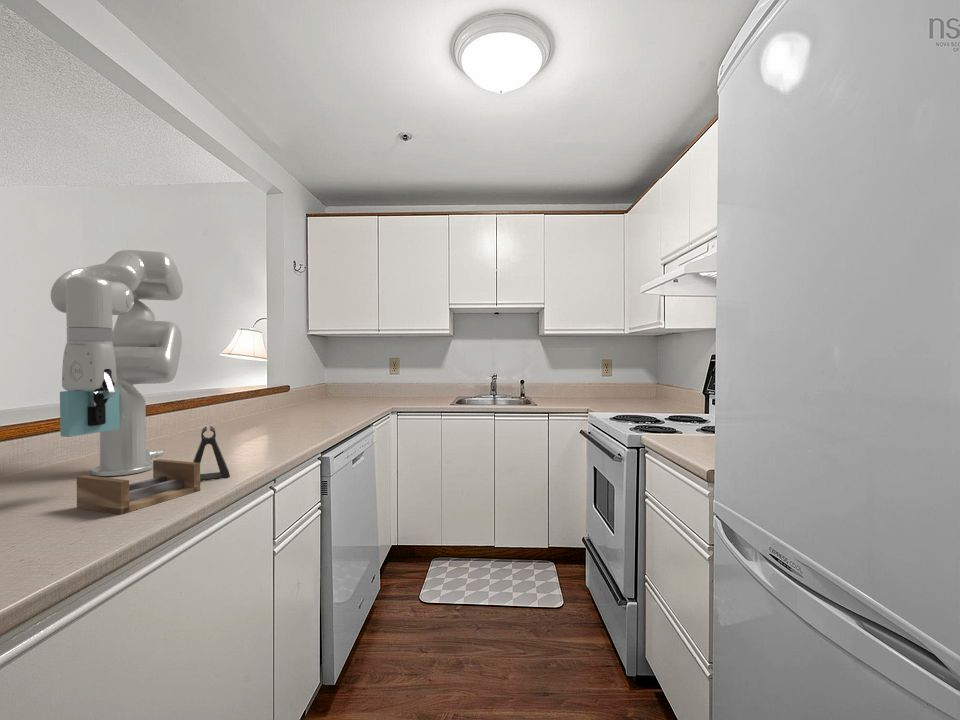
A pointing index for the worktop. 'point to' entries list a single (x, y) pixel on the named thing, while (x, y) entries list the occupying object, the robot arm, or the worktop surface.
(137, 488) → the cabinet track
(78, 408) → the door panel
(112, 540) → the worktop surface
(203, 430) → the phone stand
